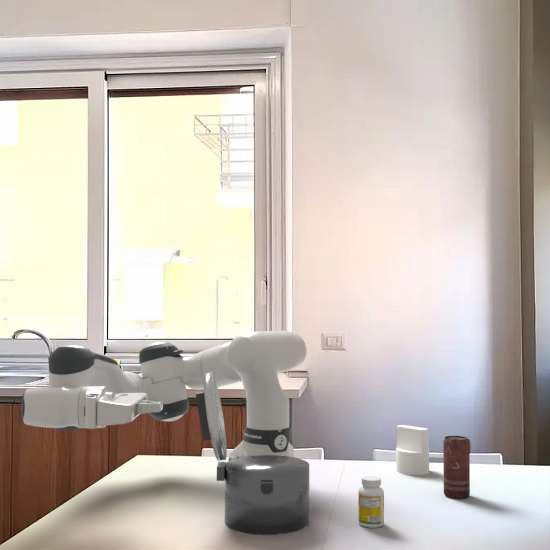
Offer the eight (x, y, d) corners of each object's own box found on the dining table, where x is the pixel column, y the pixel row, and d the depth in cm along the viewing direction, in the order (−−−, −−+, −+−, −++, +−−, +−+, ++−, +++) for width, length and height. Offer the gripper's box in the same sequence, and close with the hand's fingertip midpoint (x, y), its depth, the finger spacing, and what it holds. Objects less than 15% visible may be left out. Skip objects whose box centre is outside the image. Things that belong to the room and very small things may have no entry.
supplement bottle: (375, 530, 145) (374, 482, 146) (353, 524, 149) (353, 478, 149) (389, 523, 150) (388, 477, 150) (367, 518, 153) (367, 473, 153)
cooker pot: (212, 538, 140) (213, 477, 140) (221, 504, 163) (221, 452, 163) (312, 539, 140) (312, 478, 140) (306, 505, 163) (306, 452, 164)
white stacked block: (435, 471, 196) (435, 427, 197) (416, 476, 190) (416, 431, 190) (408, 465, 203) (408, 423, 203) (389, 471, 196) (389, 427, 197)
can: (471, 500, 168) (471, 440, 168) (444, 498, 169) (443, 439, 169) (470, 493, 174) (469, 435, 174) (443, 491, 175) (443, 434, 175)
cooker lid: (223, 469, 142) (203, 472, 142) (228, 449, 161) (211, 452, 161) (207, 377, 143) (188, 380, 143) (215, 368, 162) (197, 371, 162)
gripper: (108, 413, 162) (168, 414, 162) (84, 430, 142) (154, 430, 142) (108, 386, 162) (169, 386, 163) (85, 398, 142) (154, 398, 142)
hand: (161, 407), depth 152 cm, fingers closed
